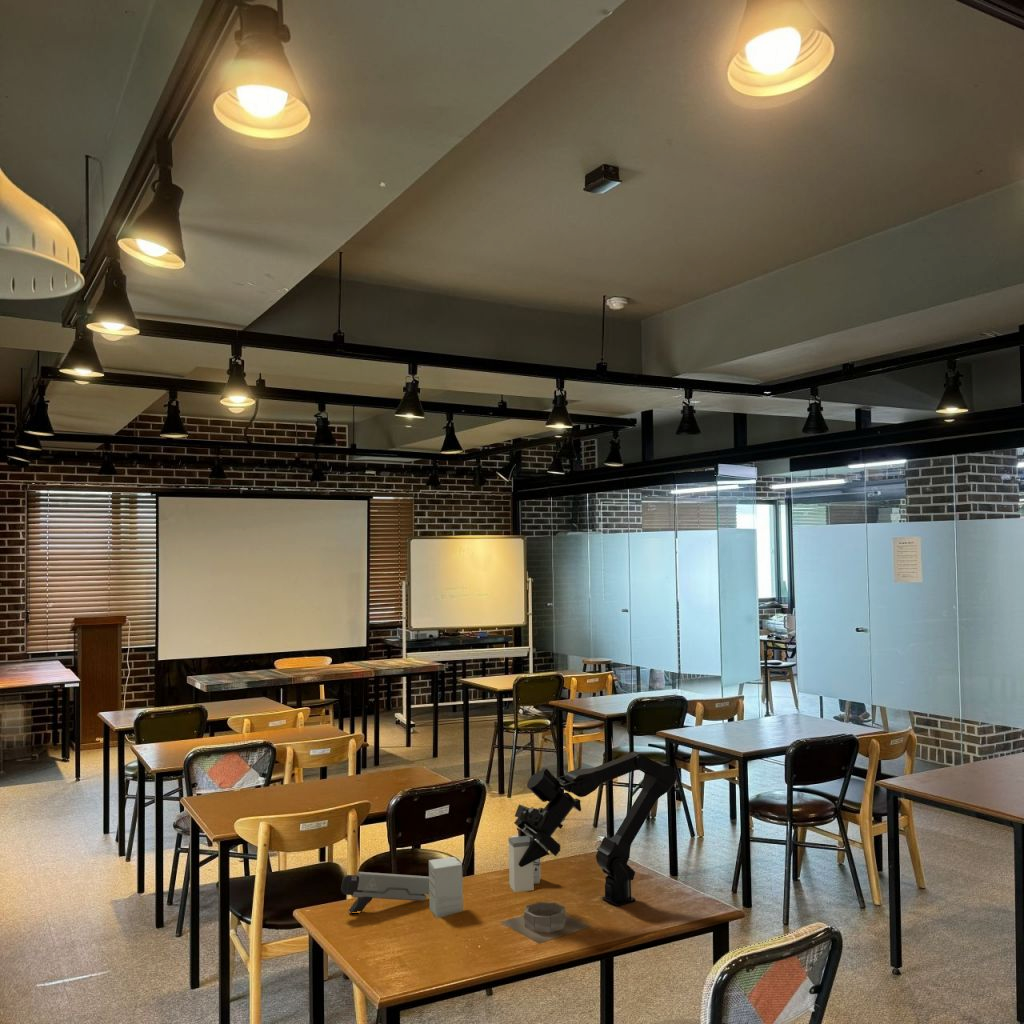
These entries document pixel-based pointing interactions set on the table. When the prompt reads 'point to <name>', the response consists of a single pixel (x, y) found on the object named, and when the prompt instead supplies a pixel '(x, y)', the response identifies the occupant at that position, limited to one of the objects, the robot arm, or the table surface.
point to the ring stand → (544, 922)
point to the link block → (519, 875)
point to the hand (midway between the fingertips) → (515, 862)
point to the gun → (383, 887)
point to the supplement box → (445, 886)
